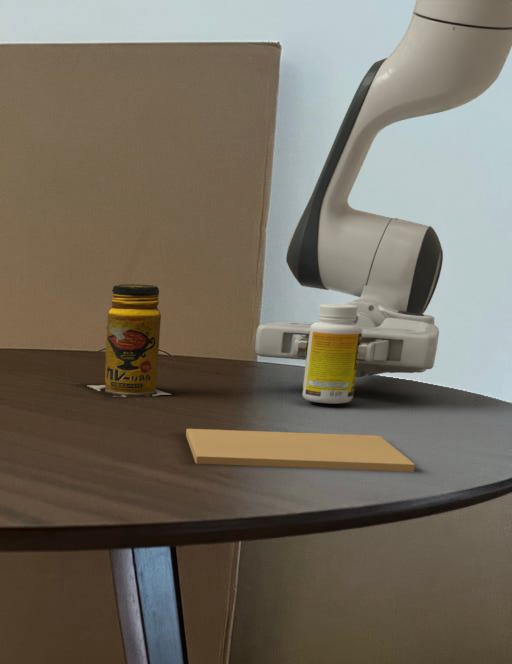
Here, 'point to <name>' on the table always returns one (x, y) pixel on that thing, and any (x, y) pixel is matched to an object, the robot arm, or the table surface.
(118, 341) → the condiment
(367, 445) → the wooden board
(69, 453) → the table surface
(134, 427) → the table surface
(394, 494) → the table surface
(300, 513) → the table surface
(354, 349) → the supplement bottle
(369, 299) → the robot arm
